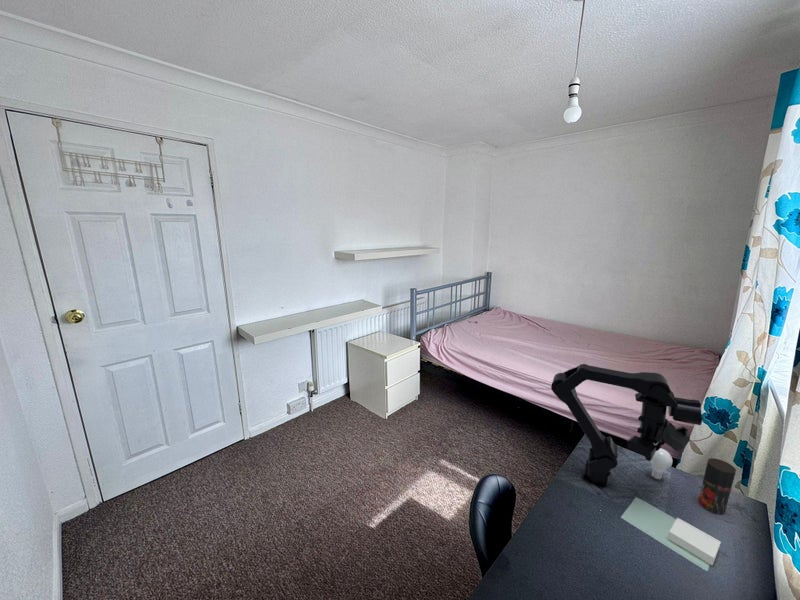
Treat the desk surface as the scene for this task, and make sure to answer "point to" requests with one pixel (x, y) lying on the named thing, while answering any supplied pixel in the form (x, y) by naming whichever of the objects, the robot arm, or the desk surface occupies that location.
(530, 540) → the desk surface
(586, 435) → the robot arm
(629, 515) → the mat
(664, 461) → the lightbulb
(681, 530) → the block
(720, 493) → the deodorant
